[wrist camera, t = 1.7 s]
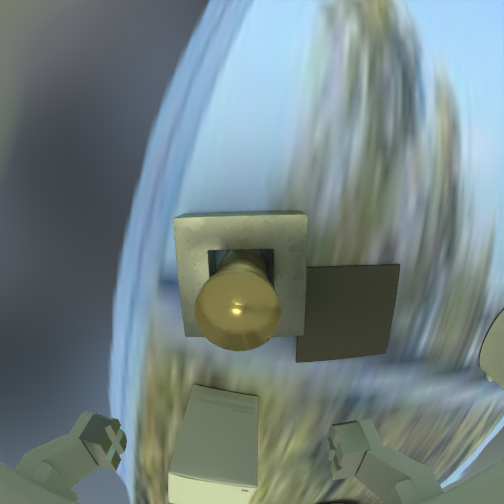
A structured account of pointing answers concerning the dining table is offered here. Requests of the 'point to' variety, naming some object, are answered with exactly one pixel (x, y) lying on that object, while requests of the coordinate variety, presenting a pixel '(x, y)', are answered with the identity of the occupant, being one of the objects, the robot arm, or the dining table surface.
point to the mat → (347, 311)
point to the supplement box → (216, 449)
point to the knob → (238, 303)
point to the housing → (244, 237)
